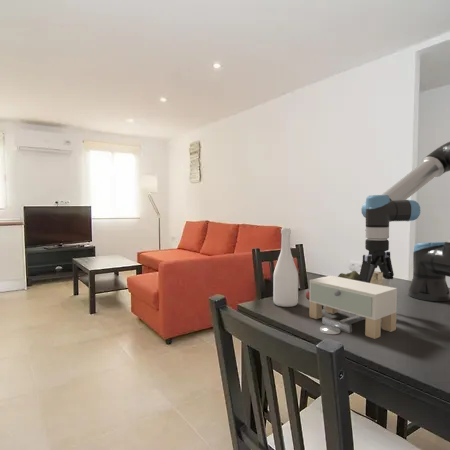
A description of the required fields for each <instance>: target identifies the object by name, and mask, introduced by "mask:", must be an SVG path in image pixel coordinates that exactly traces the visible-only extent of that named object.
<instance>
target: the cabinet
mask: <svg viewBox="0 0 450 450" xmlns="http://www.w3.org/2000/svg"><path fill="white" fill-rule="evenodd" d="M397 296H398V288H397V287H393V286H390V287H387V286H382V285H377V284H372V283H367V282H362V281H357V280H352V279H347V278H341V277H338V276H335V275H327V276H322V277H317V278H313V279H309V299H308V300H309V309H308V310H309V315H308V316H309V318H311V319H315V320H318V319H322V317H323V306H322V305H324V306H326V308H325V313H328V314H332V315H334V314H337V313H338V312H339V311H341V312H342V311H343V312H346V313H349V314H352V315H354V316H355V315H359V316H362V317H366V319H365V326H364V327H365V329H364V330H365V331H364V334H365V336H366V337H368V338H371V339H373V340H376V339H378V338H381V330H384V331H386V332H390V333H391V332H394V331H396V330H397V309H398V308H397V304H398V303H397V301H398V300H397V299H398V297H397Z"/></svg>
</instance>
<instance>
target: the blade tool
mask: <svg viewBox="0 0 450 450" xmlns="http://www.w3.org/2000/svg"><path fill="white" fill-rule="evenodd" d="M370 283H372V284H377V285H382V286H383V272H381V271H377V270H374V273H373V276H372V278H371V281H370ZM321 319H322V321H321V324H323V326H324V325H331V326H336V327H338V328H340V331H342V332H345V333H348V334H351V333H353V326H352V324H355V323H358V322H360V321H364V320H366V317H362V316H359V315H355V314H354V315H352V316H349V317H347V318H343V319H341V320H337V319H333V318H331V317H327V316H322V318H321Z"/></svg>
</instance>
